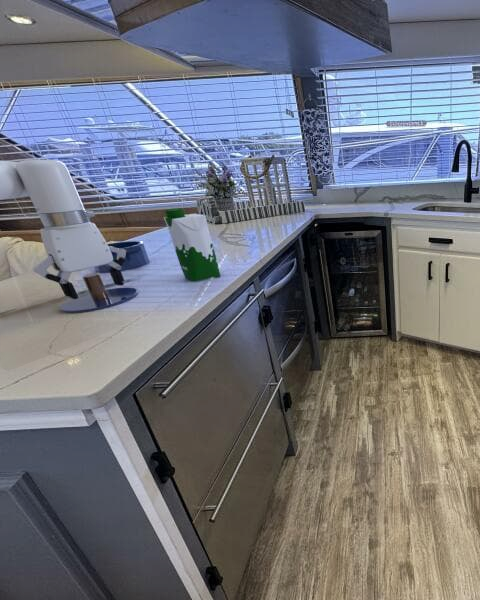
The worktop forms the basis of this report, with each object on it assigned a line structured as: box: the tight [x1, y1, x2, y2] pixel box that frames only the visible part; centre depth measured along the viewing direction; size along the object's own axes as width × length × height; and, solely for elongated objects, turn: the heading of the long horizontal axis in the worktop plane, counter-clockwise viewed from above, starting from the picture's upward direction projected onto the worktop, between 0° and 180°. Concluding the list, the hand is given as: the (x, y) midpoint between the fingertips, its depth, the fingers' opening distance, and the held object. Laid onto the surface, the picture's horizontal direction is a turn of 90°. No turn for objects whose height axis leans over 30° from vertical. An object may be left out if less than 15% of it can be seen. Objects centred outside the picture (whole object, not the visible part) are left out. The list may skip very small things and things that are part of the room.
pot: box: [93, 240, 151, 274], centre depth 103 cm, size 14×19×8 cm
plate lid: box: [59, 272, 139, 314], centre depth 78 cm, size 15×15×7 cm
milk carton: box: [163, 208, 221, 283], centre depth 91 cm, size 9×9×20 cm
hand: (97, 290), depth 79 cm, fingers open, 8 cm apart
